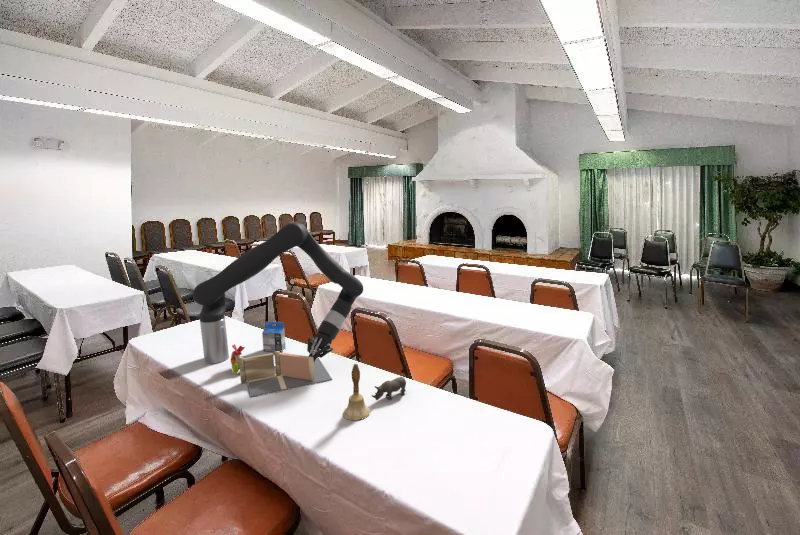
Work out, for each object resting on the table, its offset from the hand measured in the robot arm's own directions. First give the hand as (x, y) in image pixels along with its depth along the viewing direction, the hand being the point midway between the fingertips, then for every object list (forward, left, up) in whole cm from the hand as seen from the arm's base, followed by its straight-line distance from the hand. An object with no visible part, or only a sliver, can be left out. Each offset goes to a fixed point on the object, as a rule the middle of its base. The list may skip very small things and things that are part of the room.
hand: (307, 365), depth 148 cm
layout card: (-4, -7, -5) cm, 9 cm away
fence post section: (-6, -16, -4) cm, 17 cm away
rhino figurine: (+27, +21, -5) cm, 34 cm away
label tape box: (-33, -8, -5) cm, 34 cm away
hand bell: (+31, +8, -5) cm, 33 cm away
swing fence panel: (0, -4, -4) cm, 5 cm away
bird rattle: (-18, -24, -5) cm, 30 cm away
